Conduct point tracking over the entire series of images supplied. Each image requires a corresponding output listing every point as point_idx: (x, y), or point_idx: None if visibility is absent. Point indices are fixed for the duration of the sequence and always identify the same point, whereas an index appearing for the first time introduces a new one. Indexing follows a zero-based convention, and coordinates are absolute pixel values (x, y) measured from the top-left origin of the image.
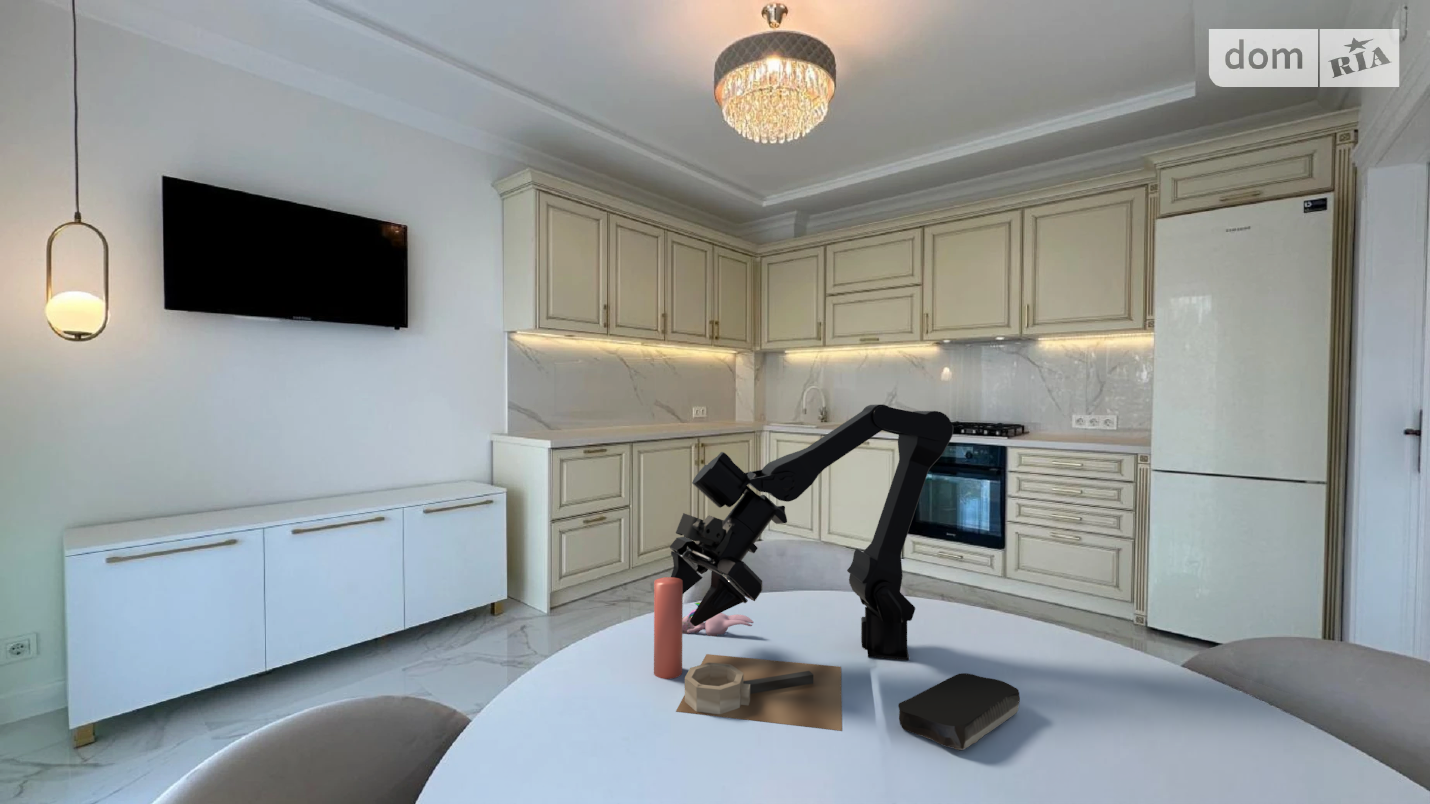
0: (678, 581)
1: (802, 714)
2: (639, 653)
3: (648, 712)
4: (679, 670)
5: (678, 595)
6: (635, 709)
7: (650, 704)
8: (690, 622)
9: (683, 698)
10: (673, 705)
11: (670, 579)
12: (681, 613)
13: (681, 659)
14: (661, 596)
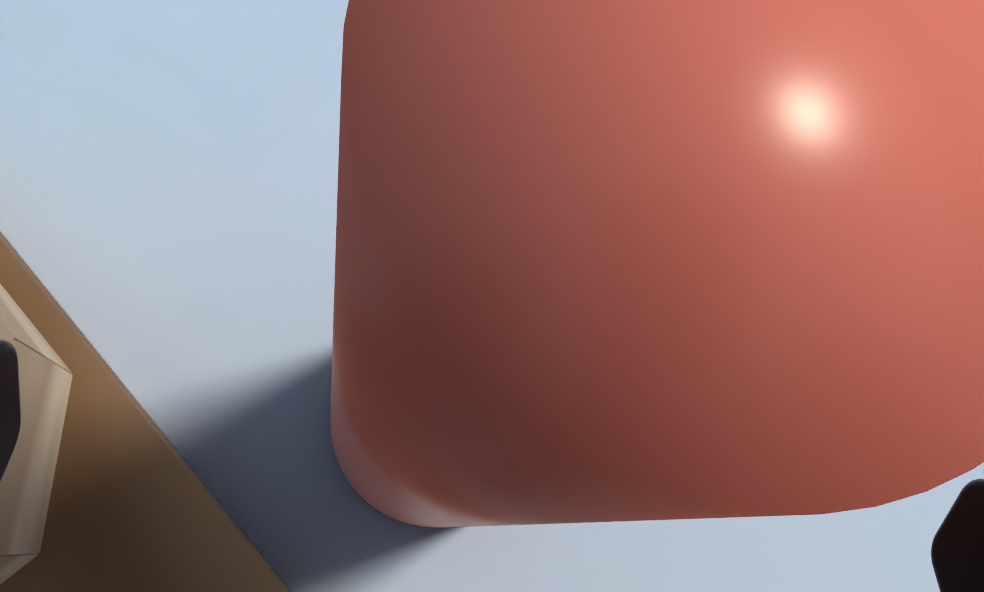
0: (589, 305)
1: None
2: (936, 492)
3: (152, 83)
4: (336, 446)
5: (341, 245)
6: (239, 46)
7: (229, 146)
8: (12, 352)
9: (10, 262)
10: (112, 250)
11: (883, 230)
12: (374, 423)
13: (356, 474)
14: None
